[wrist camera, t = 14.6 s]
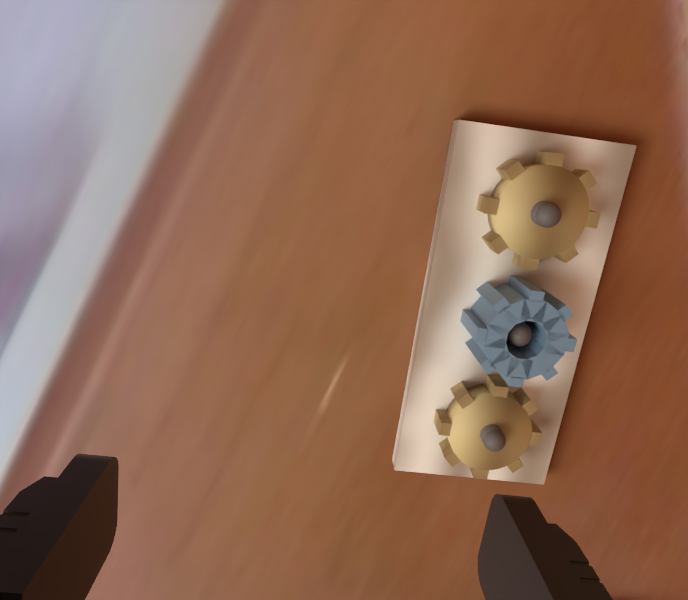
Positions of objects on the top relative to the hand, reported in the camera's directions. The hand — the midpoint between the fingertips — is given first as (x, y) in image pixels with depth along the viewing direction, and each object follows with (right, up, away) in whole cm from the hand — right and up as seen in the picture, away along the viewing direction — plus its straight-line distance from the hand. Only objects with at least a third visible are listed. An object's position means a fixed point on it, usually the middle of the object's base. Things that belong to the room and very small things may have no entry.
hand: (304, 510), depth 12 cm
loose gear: (+12, +3, +27) cm, 30 cm away
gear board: (+12, +3, +29) cm, 32 cm away
